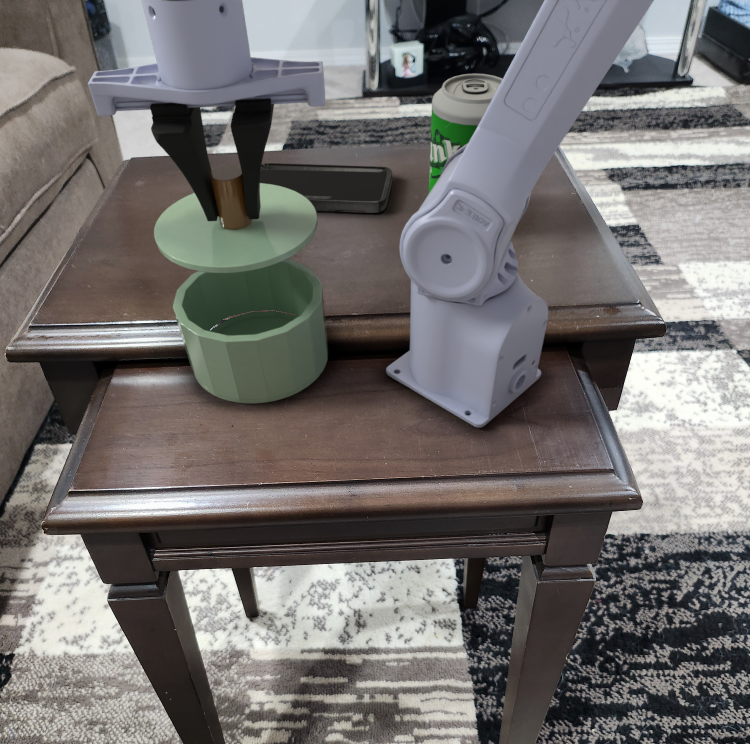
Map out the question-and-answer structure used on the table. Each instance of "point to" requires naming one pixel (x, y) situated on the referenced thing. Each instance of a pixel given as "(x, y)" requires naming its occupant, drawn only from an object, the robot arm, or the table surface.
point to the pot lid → (235, 227)
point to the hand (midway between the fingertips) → (234, 213)
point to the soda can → (457, 116)
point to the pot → (254, 331)
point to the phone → (334, 185)
